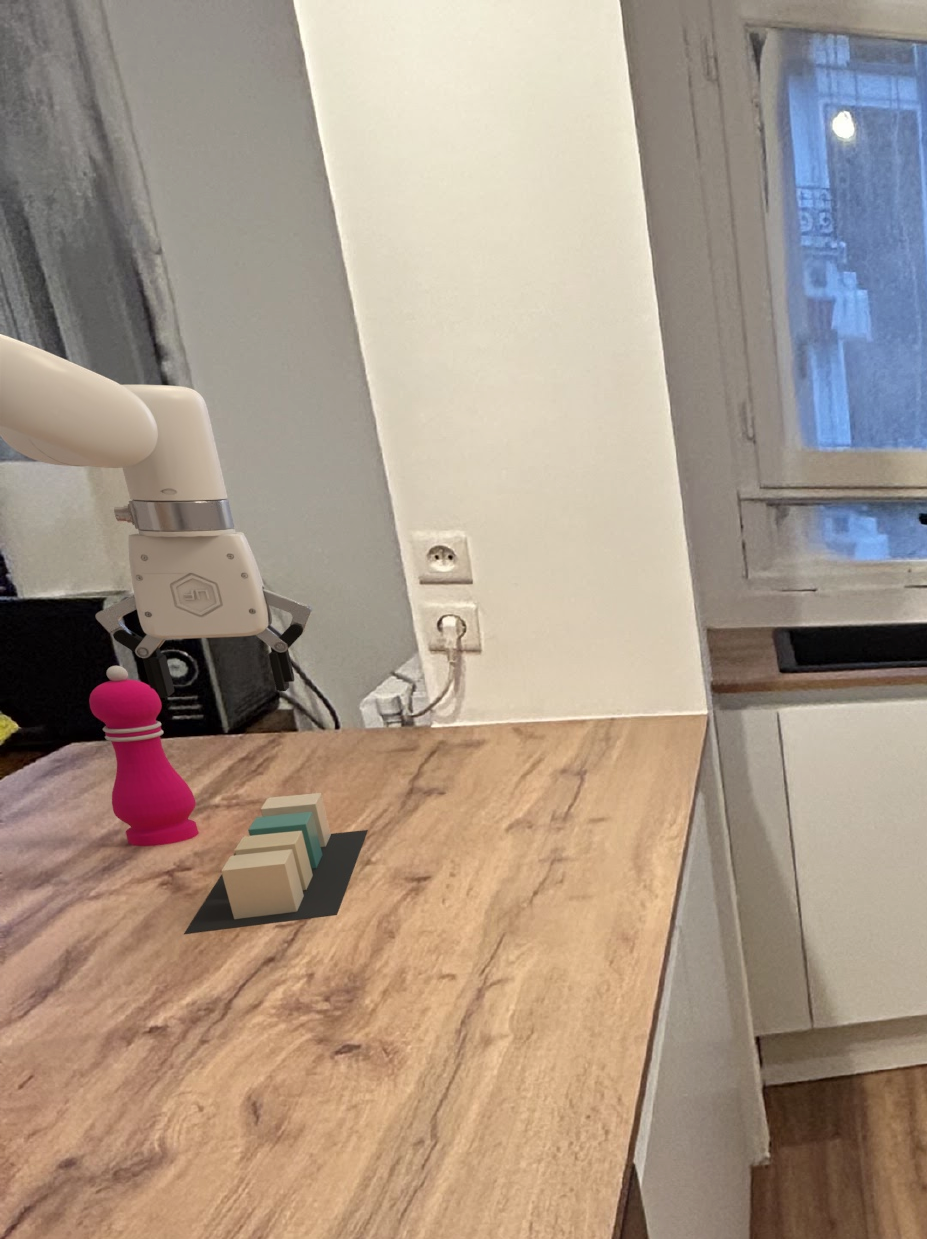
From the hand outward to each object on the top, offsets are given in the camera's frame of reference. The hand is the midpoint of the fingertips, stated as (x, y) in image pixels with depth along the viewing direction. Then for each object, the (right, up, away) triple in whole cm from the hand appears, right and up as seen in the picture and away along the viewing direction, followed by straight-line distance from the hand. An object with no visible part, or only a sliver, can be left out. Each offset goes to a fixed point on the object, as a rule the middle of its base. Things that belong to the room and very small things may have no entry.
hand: (226, 692), depth 138 cm
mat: (+3, -19, +4) cm, 20 cm away
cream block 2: (+5, -20, +1) cm, 21 cm away
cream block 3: (+8, -22, -5) cm, 24 cm away
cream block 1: (-2, -15, +14) cm, 21 cm away
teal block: (+2, -17, +7) cm, 19 cm away
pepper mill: (-19, -15, +15) cm, 29 cm away
